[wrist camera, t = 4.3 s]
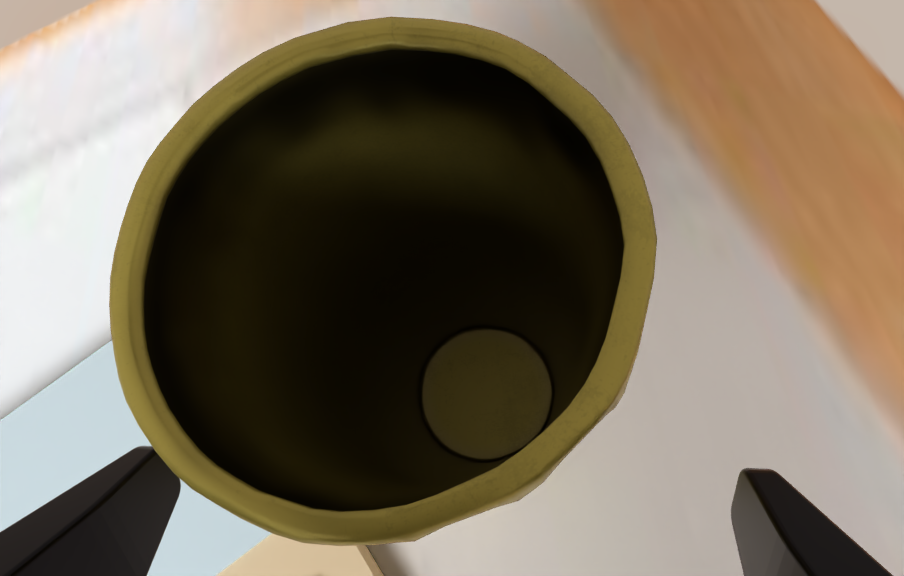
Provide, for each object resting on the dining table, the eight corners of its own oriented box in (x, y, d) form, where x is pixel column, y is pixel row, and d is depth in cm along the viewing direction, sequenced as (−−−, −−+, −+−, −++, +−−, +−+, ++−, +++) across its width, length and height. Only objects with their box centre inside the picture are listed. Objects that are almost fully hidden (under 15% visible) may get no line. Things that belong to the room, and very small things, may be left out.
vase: (620, 404, 18) (883, 261, 4) (476, 533, 18) (279, 814, 4) (496, 271, 20) (412, -118, 6) (362, 384, 19) (-39, 229, 6)
